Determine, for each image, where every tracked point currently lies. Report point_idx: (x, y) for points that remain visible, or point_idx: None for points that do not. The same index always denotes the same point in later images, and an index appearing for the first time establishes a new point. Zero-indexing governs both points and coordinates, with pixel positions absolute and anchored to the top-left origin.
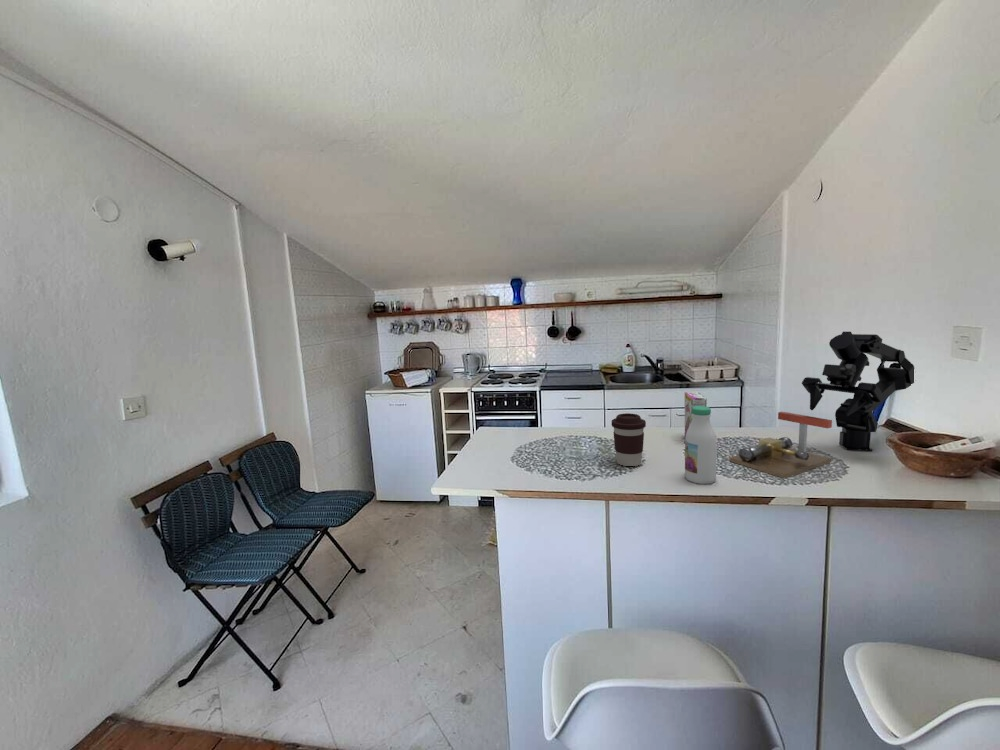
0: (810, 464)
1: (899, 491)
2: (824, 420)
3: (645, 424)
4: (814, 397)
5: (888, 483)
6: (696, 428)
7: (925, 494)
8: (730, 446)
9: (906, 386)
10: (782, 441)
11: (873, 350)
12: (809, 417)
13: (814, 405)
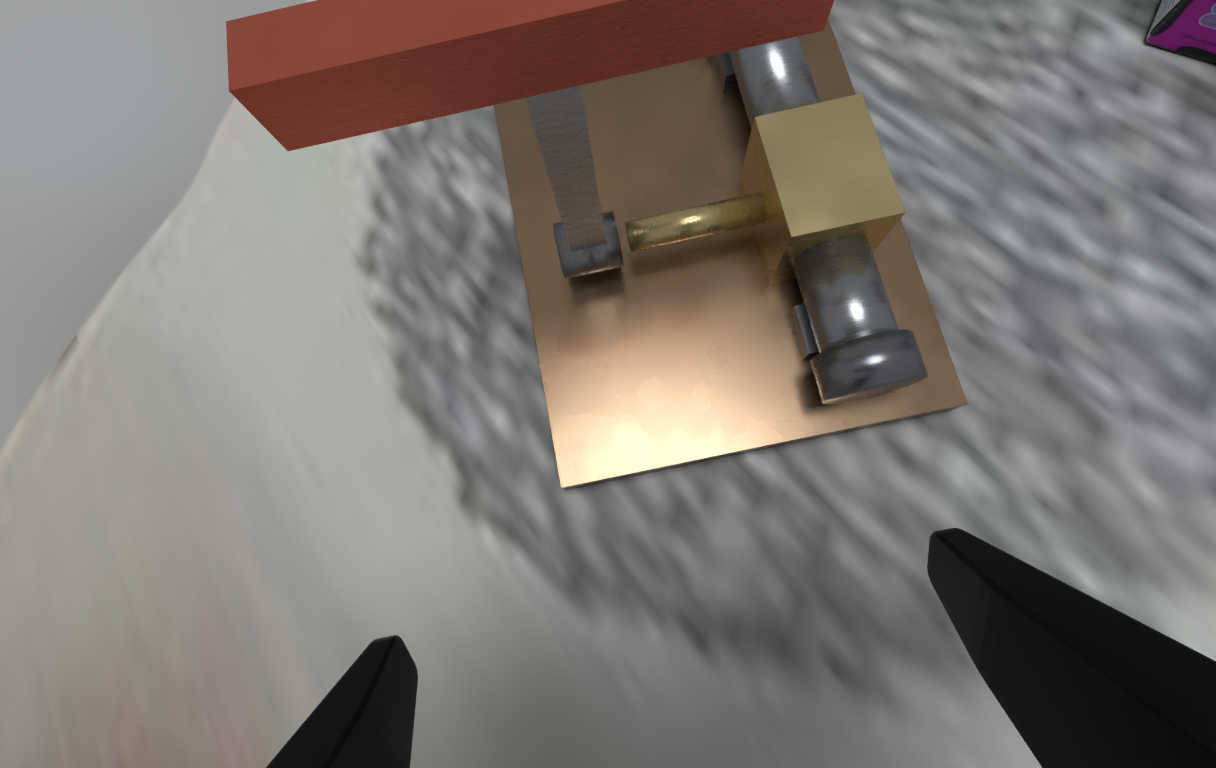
0: (533, 267)
1: (136, 391)
2: (267, 14)
3: None
4: (1173, 732)
5: (212, 450)
6: None
7: (55, 465)
8: (1081, 168)
9: None
10: (837, 300)
11: None
12: None
13: (994, 649)
